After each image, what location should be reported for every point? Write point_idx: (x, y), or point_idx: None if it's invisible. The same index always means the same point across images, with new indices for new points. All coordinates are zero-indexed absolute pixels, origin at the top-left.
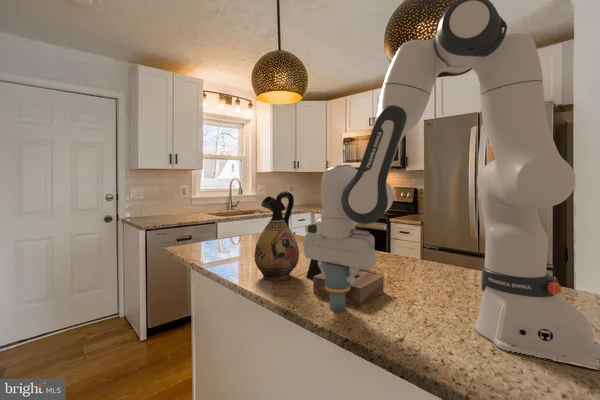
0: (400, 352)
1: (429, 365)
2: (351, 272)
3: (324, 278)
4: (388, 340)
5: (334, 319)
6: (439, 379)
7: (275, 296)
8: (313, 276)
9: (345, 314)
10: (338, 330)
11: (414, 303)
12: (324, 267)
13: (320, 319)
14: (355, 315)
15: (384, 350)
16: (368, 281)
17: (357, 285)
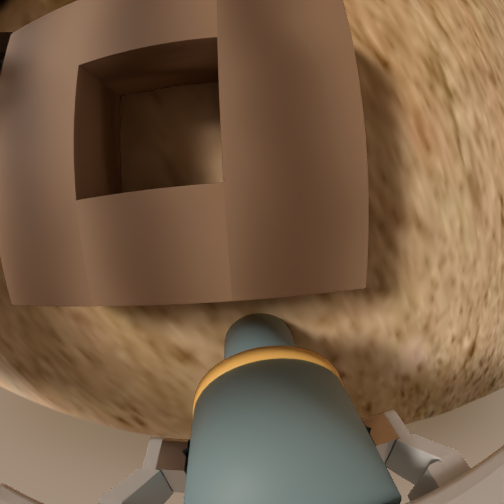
0: (469, 385)
1: (497, 374)
2: (413, 483)
3: (61, 290)
4: (452, 373)
5: None
6: (499, 387)
7: (34, 381)
8: (11, 302)
9: None
10: None
11: (450, 86)
12: (152, 494)
13: None
14: (349, 340)
15: (447, 402)
16: (338, 119)
17: (324, 255)
